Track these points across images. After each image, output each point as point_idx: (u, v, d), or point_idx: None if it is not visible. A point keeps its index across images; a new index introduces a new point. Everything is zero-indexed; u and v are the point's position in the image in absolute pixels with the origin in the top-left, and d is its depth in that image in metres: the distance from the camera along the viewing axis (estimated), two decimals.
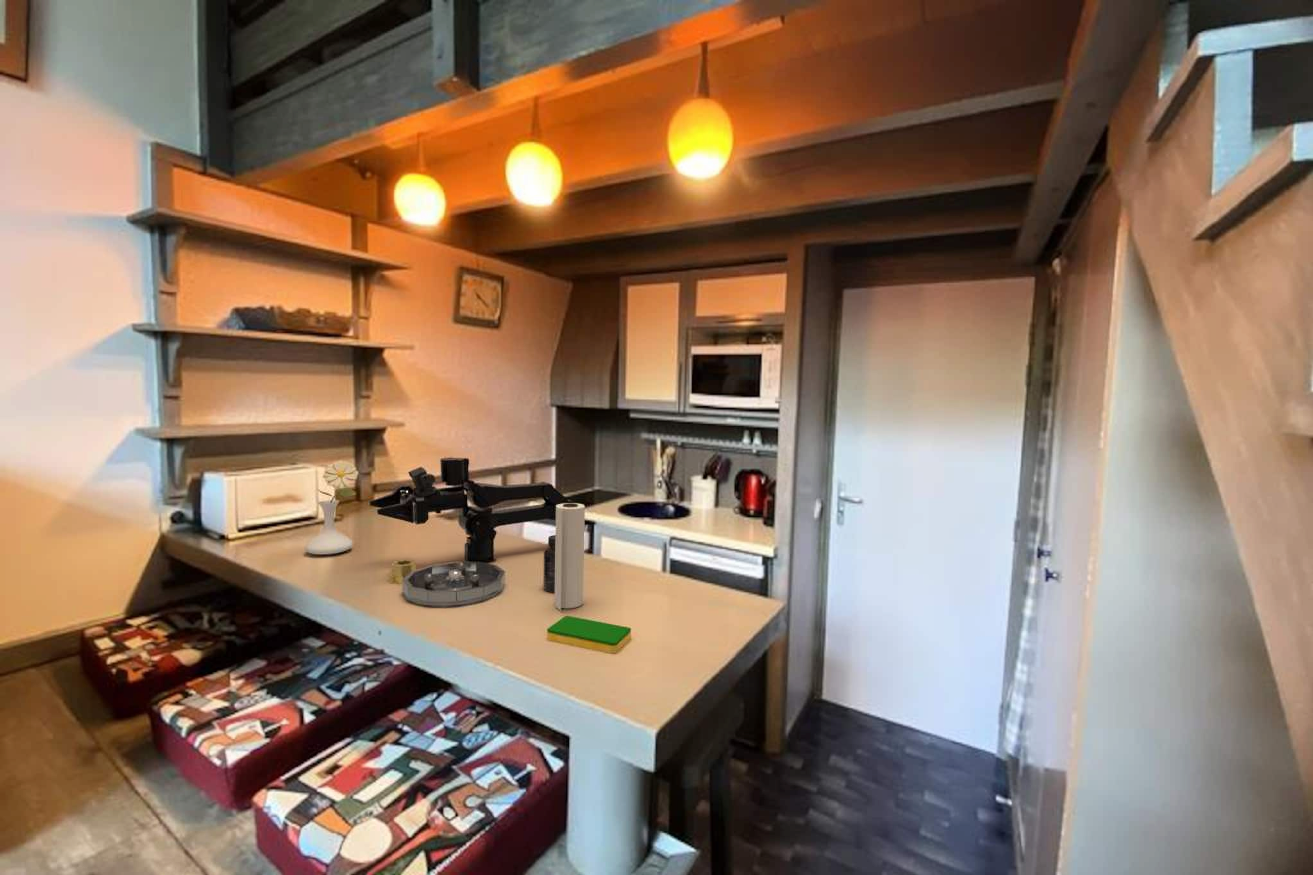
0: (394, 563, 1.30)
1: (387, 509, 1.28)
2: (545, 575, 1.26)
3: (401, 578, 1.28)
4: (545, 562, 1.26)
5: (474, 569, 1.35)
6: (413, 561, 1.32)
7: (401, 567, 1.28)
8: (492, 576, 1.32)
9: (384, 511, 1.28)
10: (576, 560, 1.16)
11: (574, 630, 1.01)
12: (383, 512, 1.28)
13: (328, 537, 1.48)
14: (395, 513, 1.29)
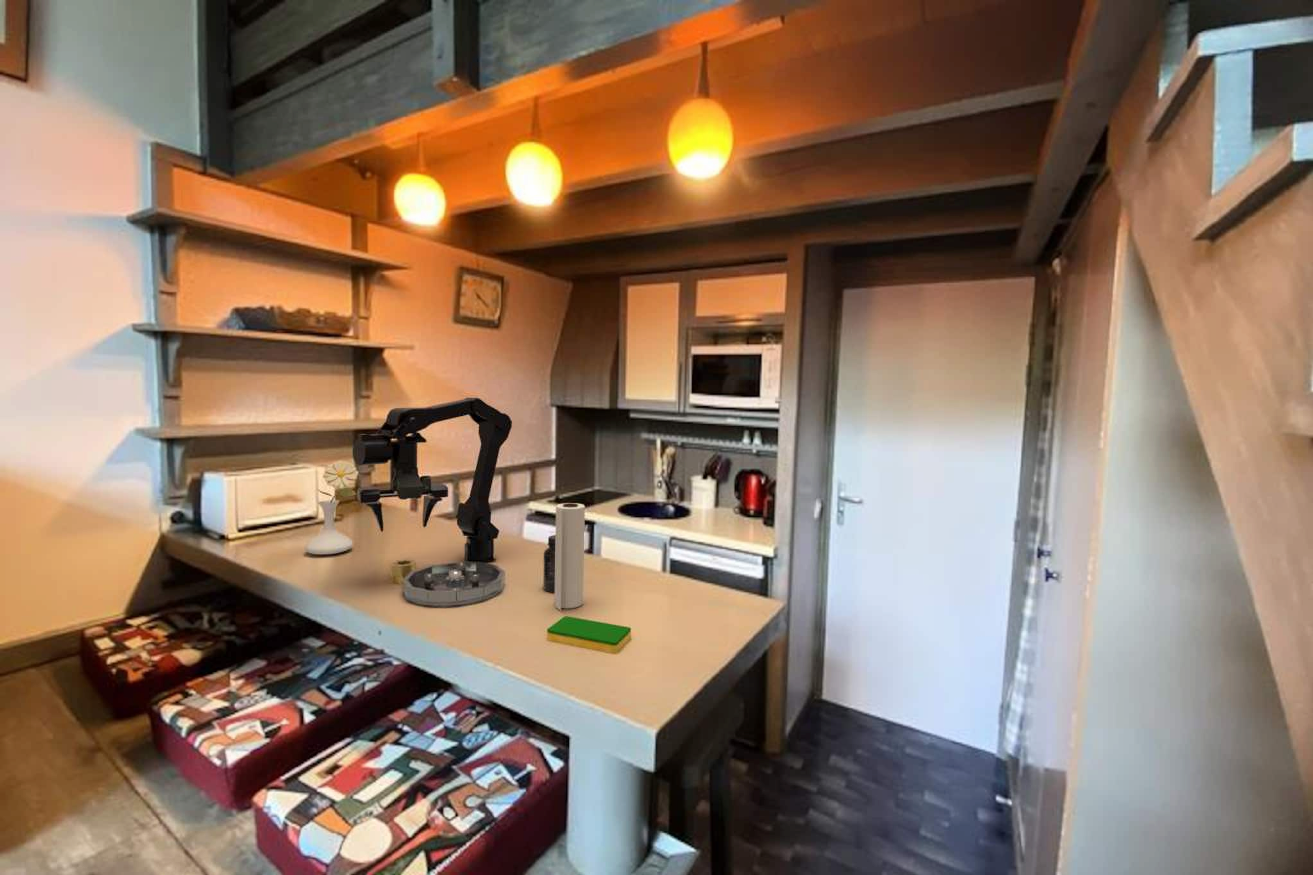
0: (394, 563, 1.30)
1: None
2: (545, 575, 1.26)
3: (401, 578, 1.28)
4: (545, 562, 1.26)
5: (474, 569, 1.35)
6: (413, 561, 1.32)
7: (401, 567, 1.28)
8: (492, 576, 1.32)
9: None
10: (576, 560, 1.16)
11: (574, 630, 1.01)
12: None
13: (328, 537, 1.48)
14: None
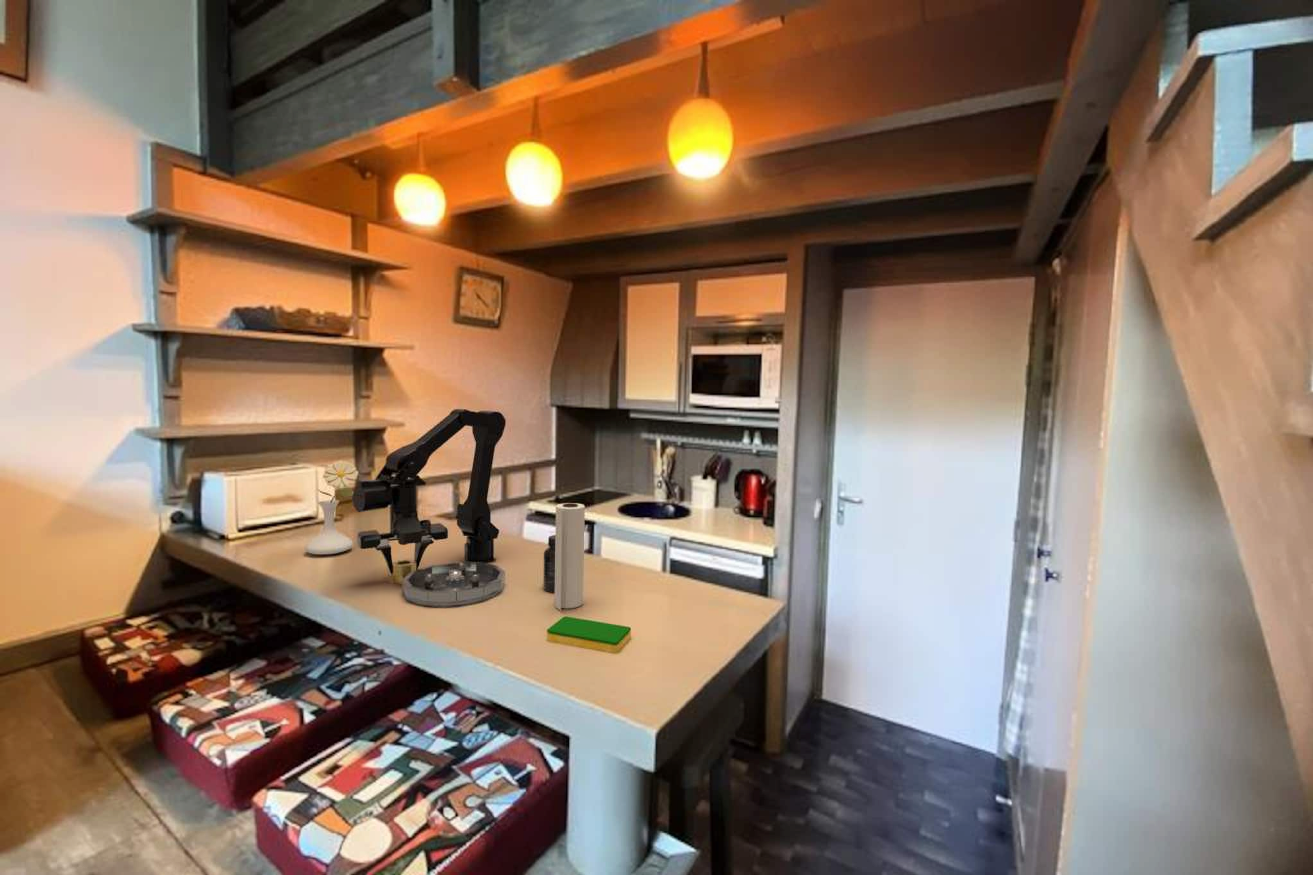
0: (394, 563, 1.30)
1: None
2: (545, 575, 1.26)
3: (401, 578, 1.28)
4: (545, 562, 1.26)
5: (474, 569, 1.35)
6: (413, 561, 1.32)
7: (401, 567, 1.28)
8: (492, 576, 1.32)
9: None
10: (576, 560, 1.16)
11: (574, 631, 1.01)
12: None
13: (328, 537, 1.48)
14: None
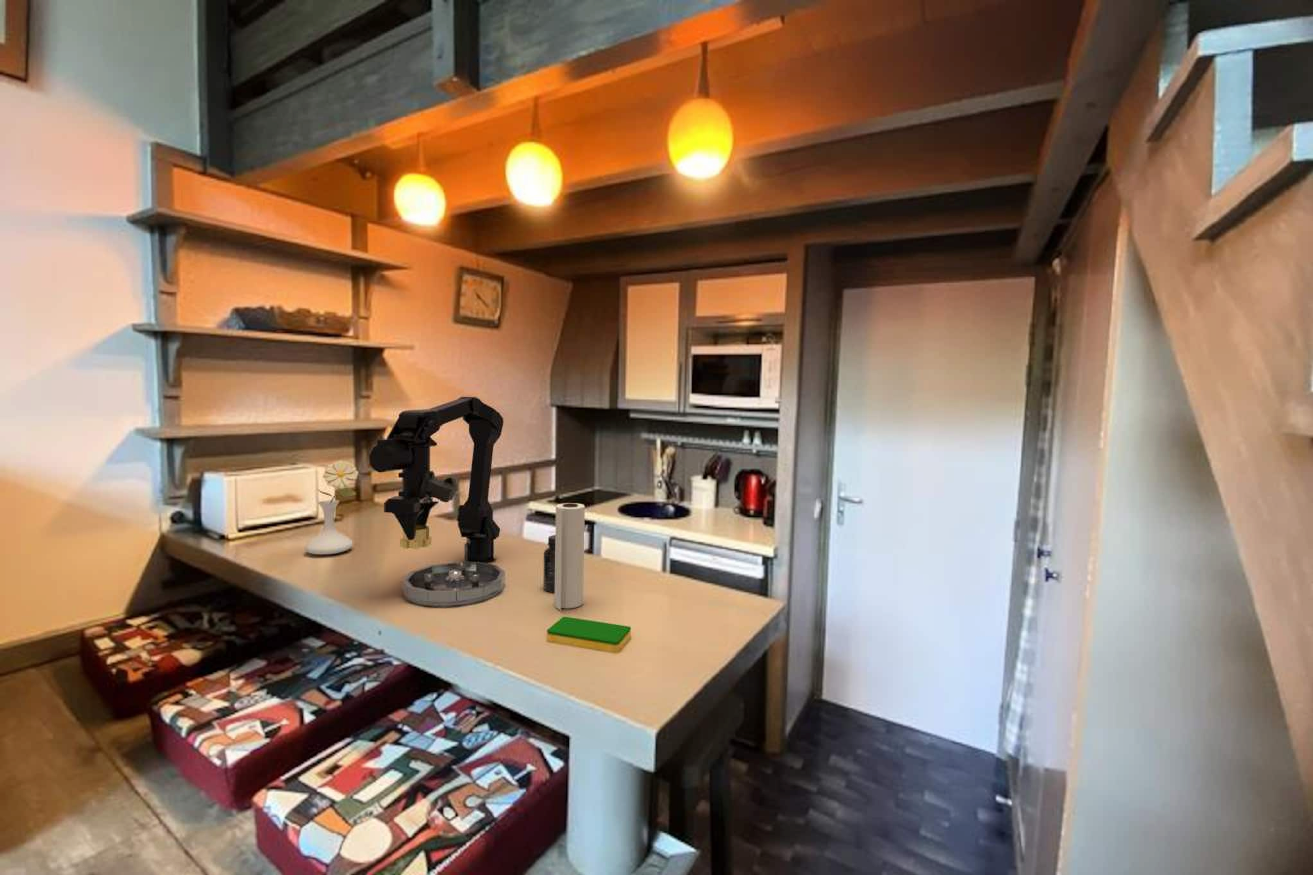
0: None
1: None
2: (545, 575, 1.26)
3: (427, 541, 1.24)
4: (545, 562, 1.26)
5: (474, 569, 1.35)
6: (420, 525, 1.27)
7: (425, 530, 1.24)
8: (492, 576, 1.32)
9: None
10: (576, 560, 1.16)
11: (574, 631, 1.01)
12: None
13: (328, 537, 1.48)
14: None
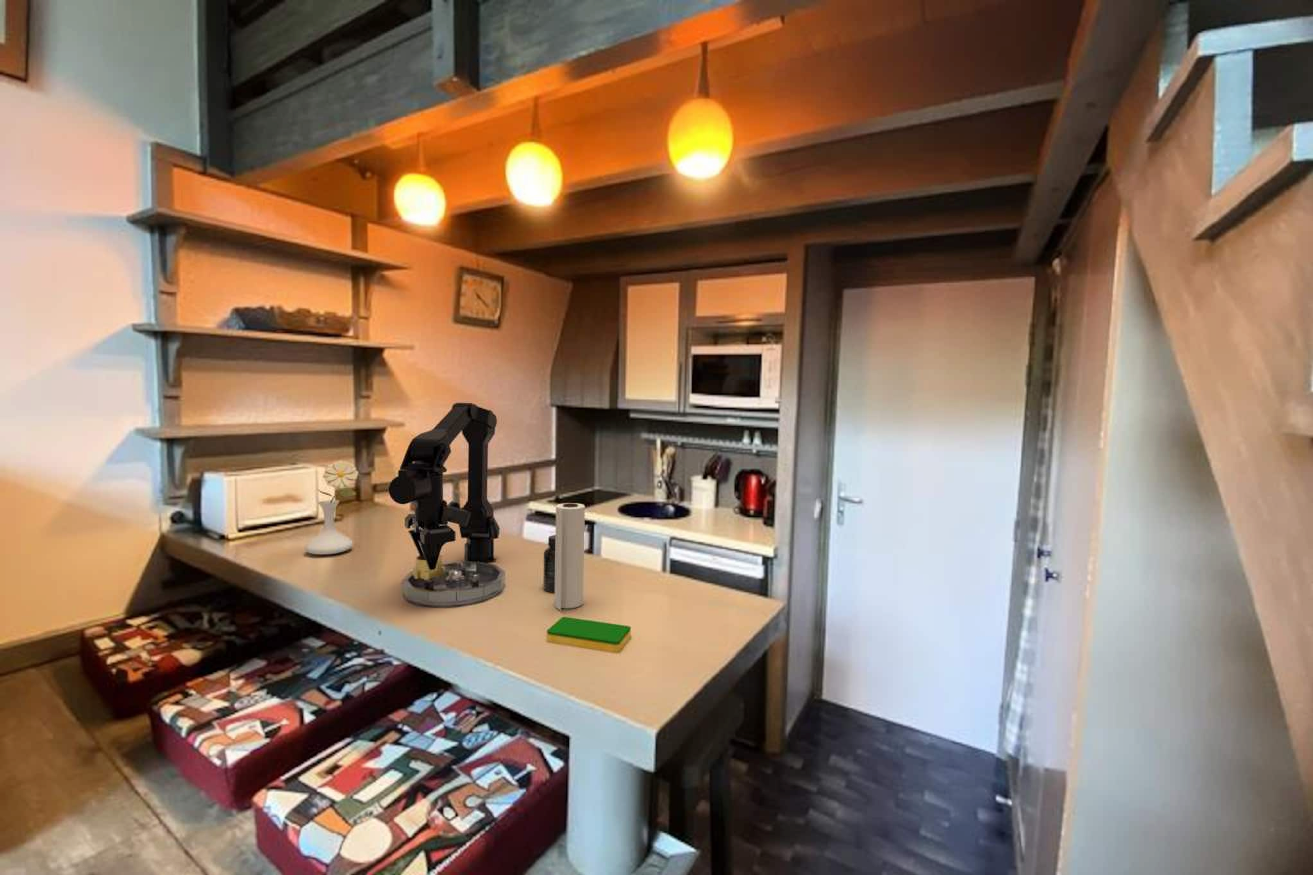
0: None
1: None
2: (545, 575, 1.26)
3: (444, 568, 1.23)
4: (545, 562, 1.26)
5: (474, 569, 1.35)
6: None
7: None
8: (492, 576, 1.32)
9: None
10: (576, 560, 1.16)
11: (574, 631, 1.01)
12: None
13: (328, 537, 1.48)
14: None
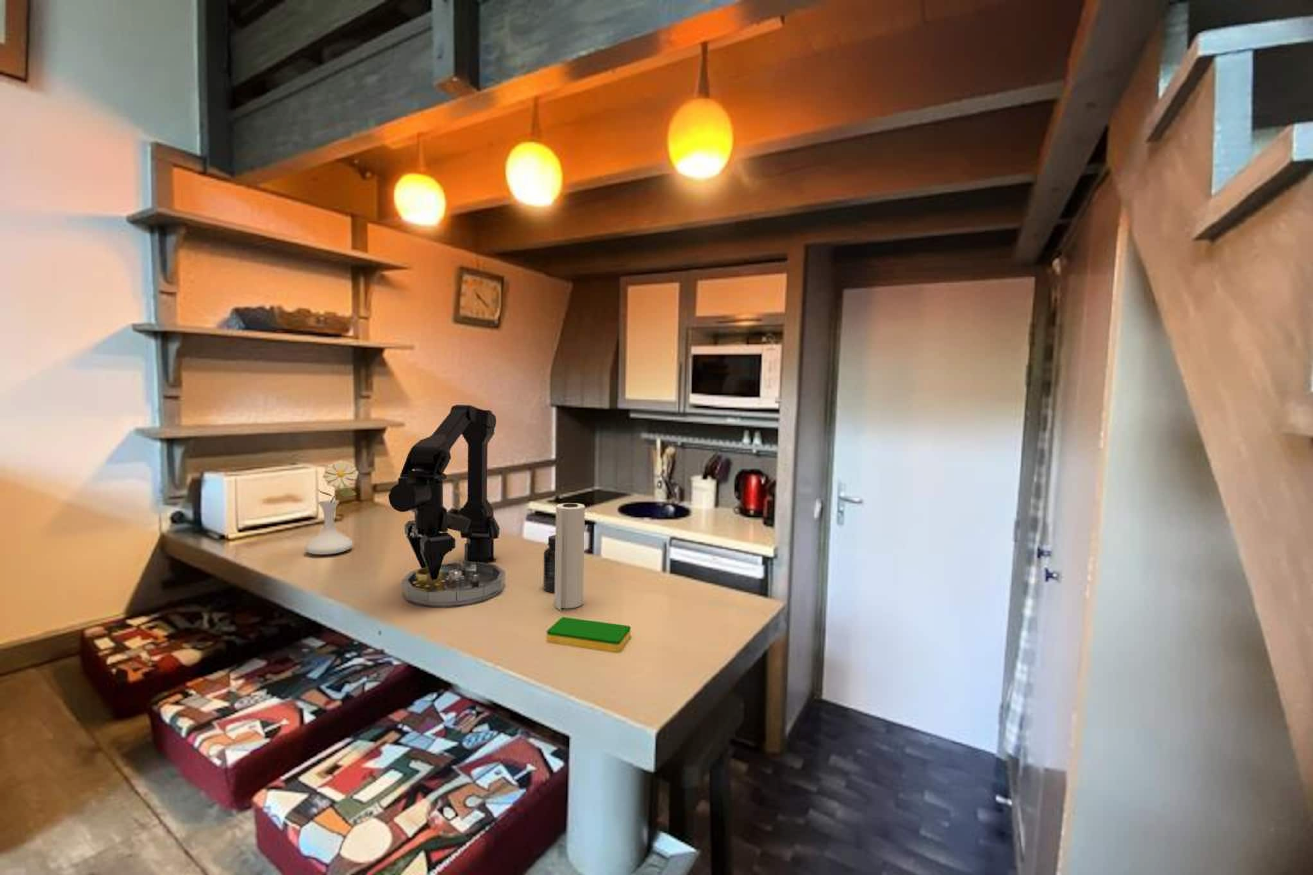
0: None
1: None
2: (545, 575, 1.26)
3: (444, 582, 1.23)
4: (545, 562, 1.26)
5: (474, 569, 1.35)
6: (426, 568, 1.24)
7: (441, 571, 1.23)
8: (492, 576, 1.32)
9: None
10: (576, 560, 1.16)
11: (574, 631, 1.01)
12: None
13: (328, 537, 1.48)
14: None
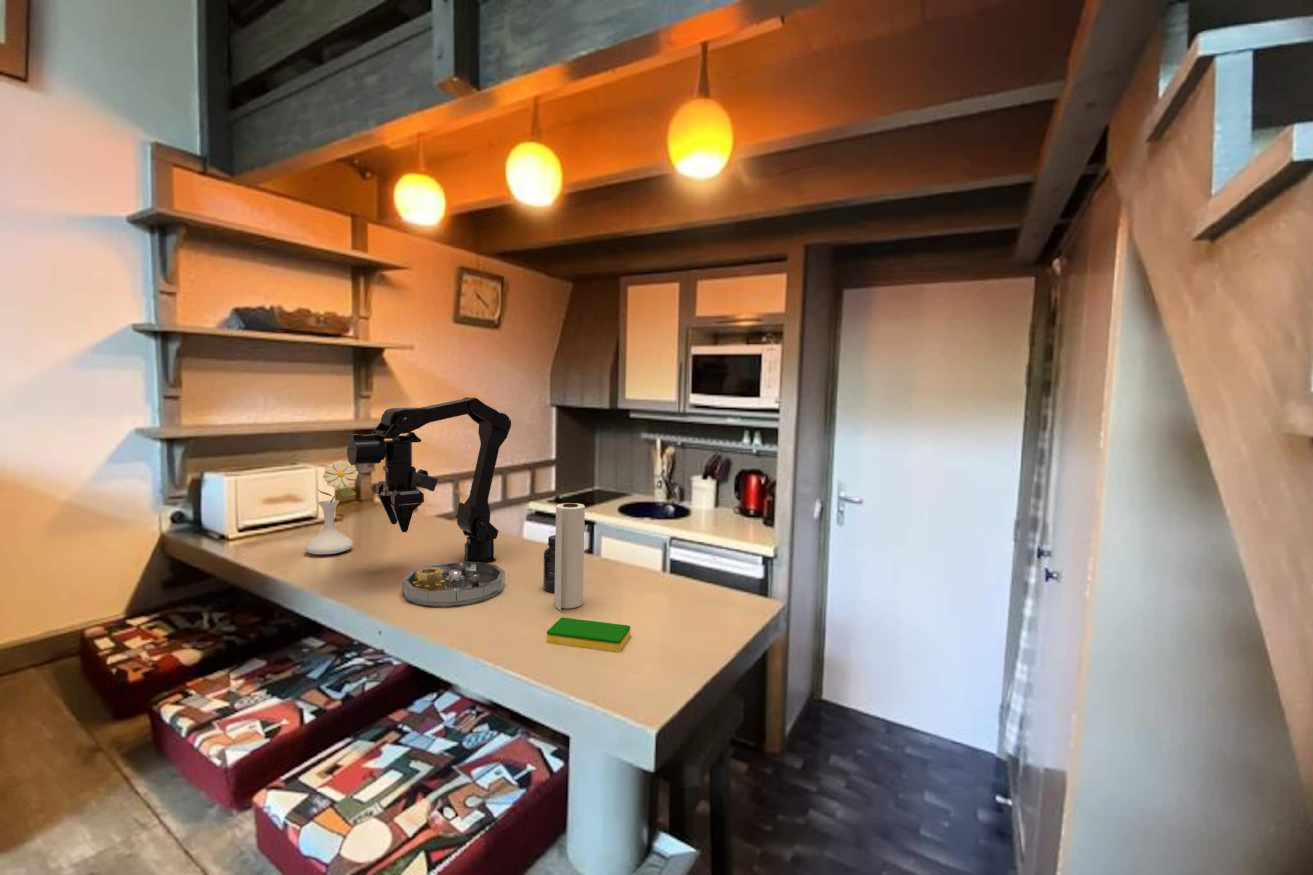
0: (429, 573, 1.20)
1: None
2: (545, 575, 1.26)
3: (444, 582, 1.23)
4: (545, 562, 1.26)
5: (474, 569, 1.35)
6: (426, 568, 1.24)
7: (441, 571, 1.23)
8: (492, 576, 1.32)
9: None
10: (576, 560, 1.16)
11: (574, 631, 1.01)
12: None
13: (328, 537, 1.48)
14: None
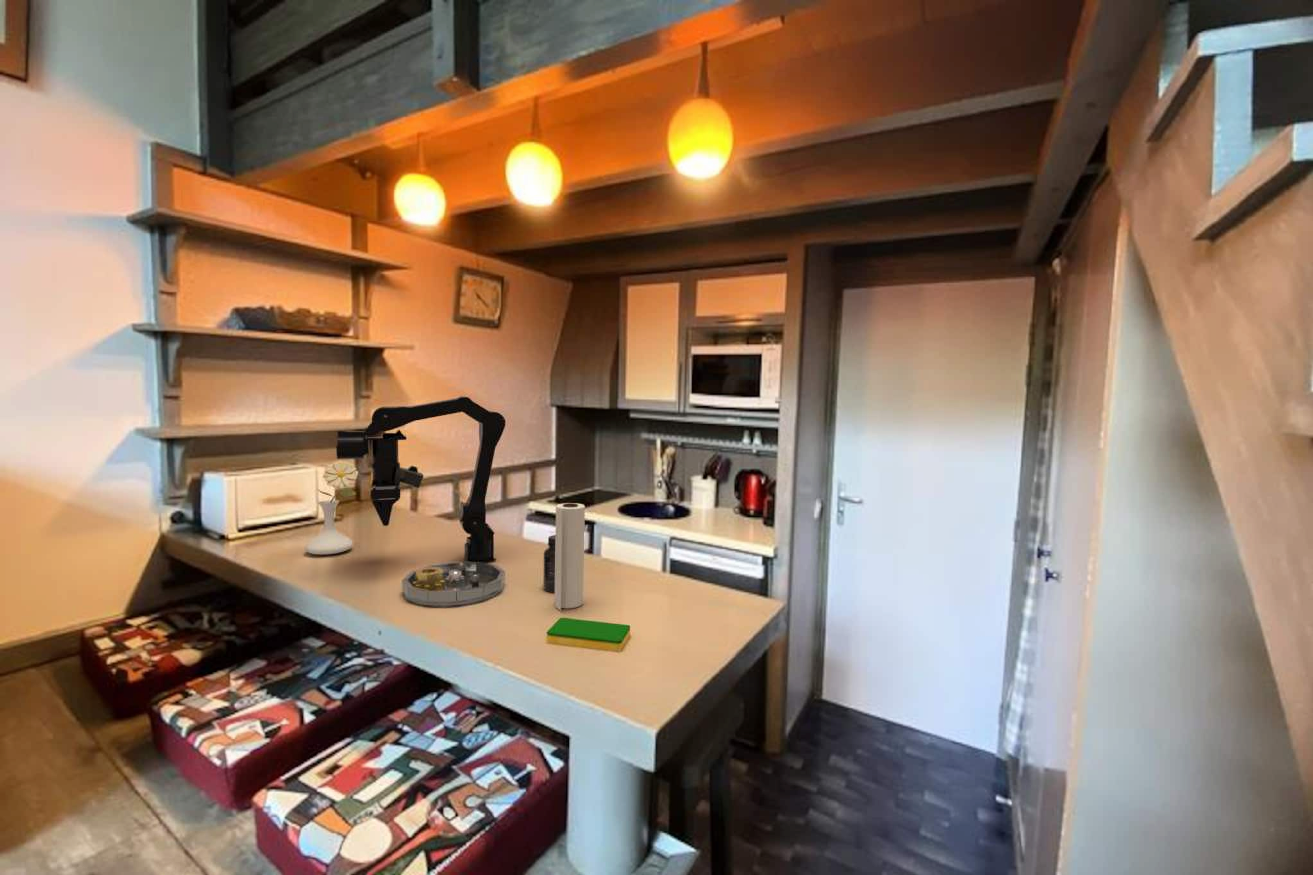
0: (429, 573, 1.20)
1: None
2: (545, 575, 1.26)
3: (444, 582, 1.23)
4: (545, 562, 1.26)
5: (474, 569, 1.35)
6: (426, 568, 1.24)
7: (441, 571, 1.23)
8: (492, 576, 1.32)
9: None
10: (576, 560, 1.16)
11: (575, 631, 1.01)
12: None
13: (328, 537, 1.48)
14: None
